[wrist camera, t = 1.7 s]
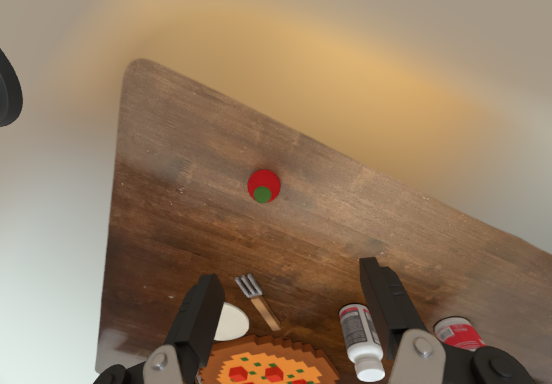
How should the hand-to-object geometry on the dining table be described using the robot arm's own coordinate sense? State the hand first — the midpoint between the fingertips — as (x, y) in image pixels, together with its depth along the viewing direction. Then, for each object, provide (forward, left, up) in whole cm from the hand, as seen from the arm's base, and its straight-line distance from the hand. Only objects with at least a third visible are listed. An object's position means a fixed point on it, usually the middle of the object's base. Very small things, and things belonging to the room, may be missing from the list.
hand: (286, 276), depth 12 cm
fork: (-14, -23, -17) cm, 32 cm away
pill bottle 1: (+1, -32, -17) cm, 36 cm away
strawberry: (-3, -1, -17) cm, 17 cm away
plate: (-25, -26, -17) cm, 40 cm away
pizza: (-24, -49, -17) cm, 57 cm away
